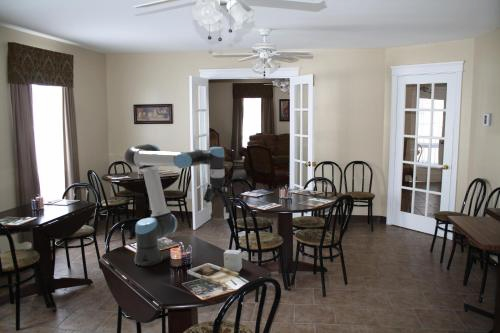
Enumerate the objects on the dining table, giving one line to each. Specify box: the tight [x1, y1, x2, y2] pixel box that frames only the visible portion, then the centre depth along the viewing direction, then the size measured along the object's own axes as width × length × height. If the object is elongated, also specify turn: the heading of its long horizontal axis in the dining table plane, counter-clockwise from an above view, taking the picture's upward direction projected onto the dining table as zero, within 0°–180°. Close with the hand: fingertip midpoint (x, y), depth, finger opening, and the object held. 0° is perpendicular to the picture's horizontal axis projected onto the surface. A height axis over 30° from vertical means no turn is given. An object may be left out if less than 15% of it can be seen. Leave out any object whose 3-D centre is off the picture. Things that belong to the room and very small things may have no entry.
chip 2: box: [202, 267, 215, 276], centre depth 217 cm, size 4×4×2 cm
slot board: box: [201, 267, 240, 286], centre depth 211 cm, size 12×14×3 cm
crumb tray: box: [186, 262, 222, 280], centre depth 219 cm, size 11×14×3 cm
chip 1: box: [198, 265, 211, 273], centre depth 221 cm, size 4×4×2 cm
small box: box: [223, 249, 243, 273], centre depth 222 cm, size 8×6×10 cm
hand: (217, 216), depth 229 cm, fingers open, 13 cm apart
